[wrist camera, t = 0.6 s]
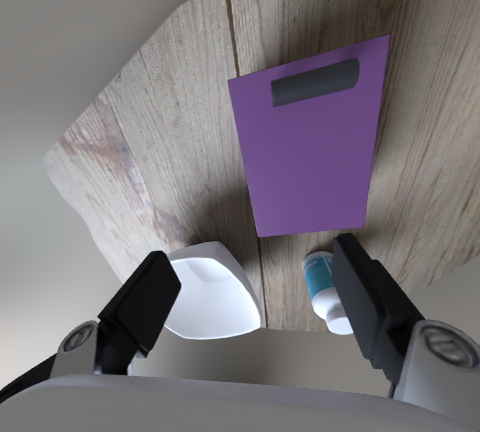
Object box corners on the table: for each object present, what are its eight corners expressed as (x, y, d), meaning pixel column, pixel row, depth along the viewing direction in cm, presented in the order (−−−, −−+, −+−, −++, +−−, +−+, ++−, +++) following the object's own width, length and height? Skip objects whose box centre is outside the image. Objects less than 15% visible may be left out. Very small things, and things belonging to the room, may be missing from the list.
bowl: (198, 298, 50) (181, 344, 40) (147, 238, 41) (109, 278, 31) (273, 281, 43) (275, 331, 33) (232, 205, 34) (218, 242, 24)
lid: (228, 81, 18) (216, 70, 13) (385, 36, 15) (436, 3, 10) (258, 234, 26) (256, 258, 22) (360, 223, 23) (383, 248, 19)
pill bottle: (302, 275, 41) (317, 339, 29) (301, 250, 38) (318, 311, 26) (337, 273, 40) (367, 340, 28) (339, 248, 36) (375, 311, 24)
